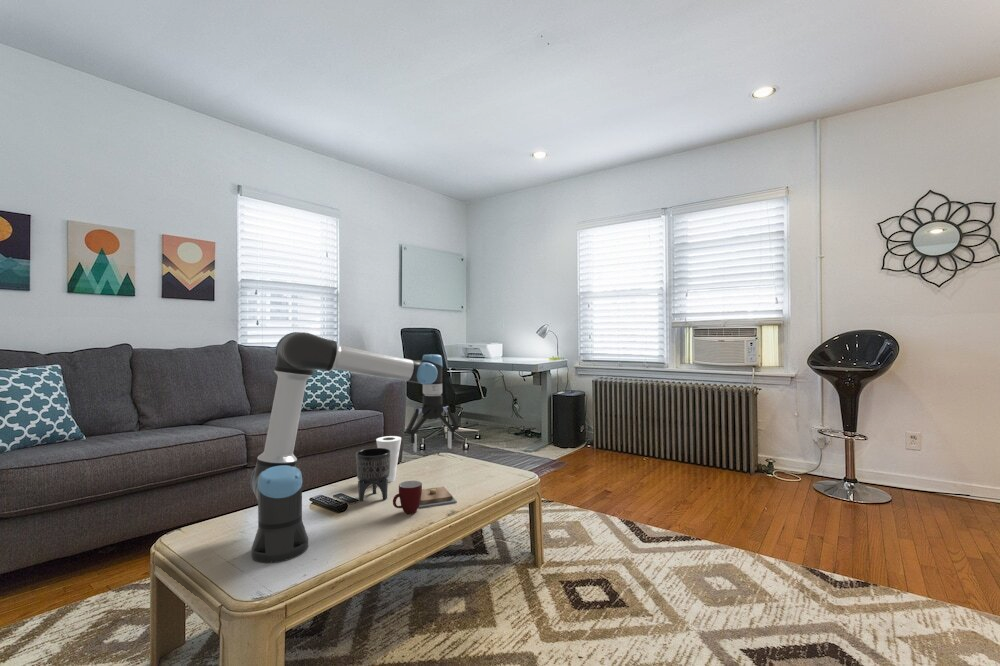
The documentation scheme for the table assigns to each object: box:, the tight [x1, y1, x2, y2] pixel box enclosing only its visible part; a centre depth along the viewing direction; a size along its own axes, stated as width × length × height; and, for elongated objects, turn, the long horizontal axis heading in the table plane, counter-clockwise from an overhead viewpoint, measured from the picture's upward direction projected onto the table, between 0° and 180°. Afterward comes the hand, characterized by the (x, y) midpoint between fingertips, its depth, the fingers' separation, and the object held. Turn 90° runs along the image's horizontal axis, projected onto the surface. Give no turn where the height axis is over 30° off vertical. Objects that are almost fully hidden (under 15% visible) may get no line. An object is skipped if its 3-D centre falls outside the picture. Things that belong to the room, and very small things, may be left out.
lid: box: [420, 486, 454, 505], centre depth 178 cm, size 12×12×3 cm
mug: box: [392, 480, 423, 515], centre depth 163 cm, size 10×8×10 cm
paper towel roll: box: [375, 435, 402, 483], centre depth 200 cm, size 11×11×18 cm
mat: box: [418, 497, 458, 509], centre depth 178 cm, size 14×16×1 cm
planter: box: [355, 447, 391, 503], centre depth 179 cm, size 13×13×18 cm
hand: (432, 449), depth 178 cm, fingers open, 13 cm apart
